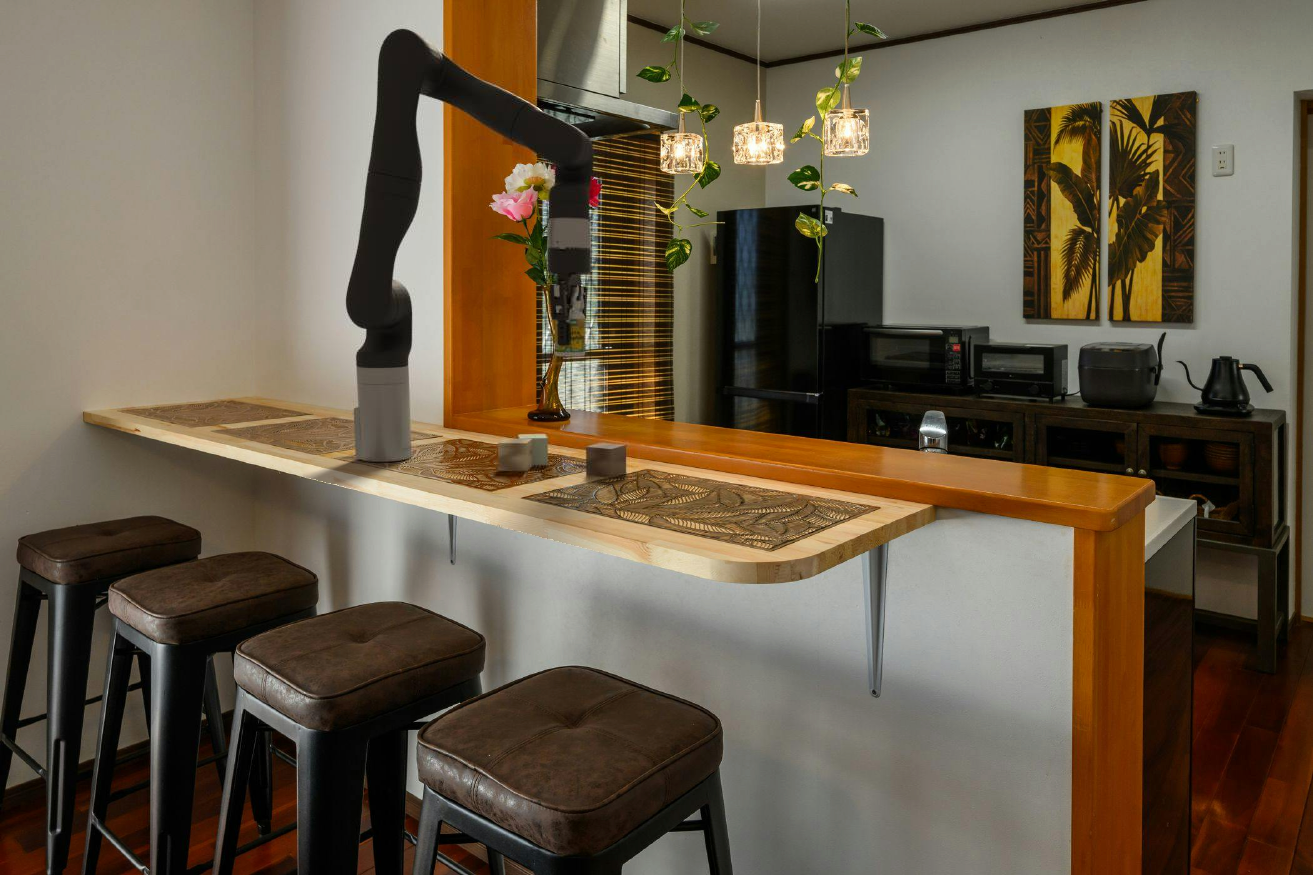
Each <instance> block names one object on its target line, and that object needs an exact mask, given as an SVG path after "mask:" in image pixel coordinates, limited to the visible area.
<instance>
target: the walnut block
mask: <svg viewBox="0 0 1313 875" xmlns="http://www.w3.org/2000/svg"><path fill="white" fill-rule="evenodd" d="M624 474H627V444H620V443H619V444H618V443H608V442H598V443H594V444H591V445H587V446H585V475H586V476H593V477H600V478H610V479H611V478H615V477H618V476H621V475H624Z"/></svg>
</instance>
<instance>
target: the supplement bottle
mask: <svg viewBox="0 0 1313 875" xmlns="http://www.w3.org/2000/svg"><path fill="white" fill-rule="evenodd" d="M567 305H569V304H567ZM580 309H581V301H576V306H575V311H573V312H572V316H571V323H568V324H571V344H570V345H569V346H560V345H558V343H557V324H558V323H556V322H555V320H553V321H554V354H555V356H557V357H584V356H585V355H586V318H585V316H584V314H583V313H581V312H580ZM561 313H562V312H561Z"/></svg>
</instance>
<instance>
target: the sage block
mask: <svg viewBox="0 0 1313 875" xmlns="http://www.w3.org/2000/svg"><path fill="white" fill-rule="evenodd" d="M517 439H532V466H547V465H549V451H548V450H549V449H548V448H549V441H548V436H547V435H546V433H535V434H534V433H530V434H529V433H527V434H526V433H525V434H518V435H517Z"/></svg>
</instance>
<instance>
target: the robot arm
mask: <svg viewBox="0 0 1313 875" xmlns="http://www.w3.org/2000/svg"><path fill="white" fill-rule="evenodd" d="M376 84H377V89H376V90H377V91H376V107H375V108H376V111H375V119H374V126H373V132H372V134H373V135H372V140H371V141H372V142H371V149H370V158H369V163H368V168H367V173H366V174H367V175H366V182H365V189H364V200H363V207H362V213H361V214H362V215H361V221H360V229H359V234H358V236H359V237H358V241H357V243H358V244H357V248H356V252H355V258H354V262H353V266H352V269H351V273H350V277H349V282H348V284H347V289H346V295H345V309H346V312H347V315H348V317H349V319H350V320H351V322H352V323H353V324H354V325H356V327H358V328H360V329H363V330H365V331H366V332H365V340H364V343H363V344H362V345H361V347H360V348H359V349H358V350H357V351H356V354H355V366H356V384H357V385H356V386H357V387H356V388H357V406H356V407H354V408H353V428H354V430H353V431H354V448H355V449H354V452H355V453H354V454H355V460H362V461H365V462H376V463H378V462H379V463H381V462H396V461H397V462H398V461H403V460H409V459H411V458H412V457H413V456H412V432H411V430H412V429H411V427H412V426H411V425H412V424H411V400H410V399H411V398H410V396H411V395H410V375H409V374H410V371H409V358H410V357H409V356H410V353H411V350H412V347H413V305H412V299H411V298H412V297H411V295H410V293H409V291H408V289H407V288H406V287H405V286H404V284H403V283H402V282H400V281H398V280H396V279H393V278H394V269H395V263H396V258H397V253H398V251H399V248H400V246H401V244H402V242H403V240H404V238H405V236H406V235H407V233H408V231H409V228H410V227H411V225H412V223H413V221H414V218H415V216H416V214H417V211H418V207H419V202H420V195H421V191H422V190H421V189H422V182H423V181H422V180H423V160H422V154H421V148H420V143H419V137H418V131H417V114H418V113H417V112H418V105H419V101H420V96H421V95H422V96H425V97H428V98H431V99H434V100H438V101H441V102H444V103H446V104H449V105H450V106H453V107H455V108H456V109H459V110H460V111H462V112H464V113H466V114H467V115H469V116H470V117H472V118H473V119H475V120H477V121H478V122H479V123H481V124H482V125H483V126H485V127H486V128H488V129H489V130H492V131H494V132H495V133H497V134H499V135H501V136H503V137H504V138H506V139H508V140H510V141H512V142H513V143H515V144H517V145H520V146H522V147H524V148H525V147H526V148H527V149H529V150H530V151H532V152H533V153H535V154H536V155H538V156H540V157H541V158H543V159H544V160H545V161H548V162H549V163H551V164H553V165H555V170H554V173H555V174H554V184H553V186H551V187H550V189H549V191H548V222H547V236H546V240H547V242H546V243H547V244H546V245H547V272H548V274H549V275H557V277H556V284H550V285H549V294H550V295H549V297H550V310H551V311H550V314H551V320H553V321H554V320H555V322H556V323H558V324H557V343H558V345H560V346H569V345H570V344H571V324H568V323H571V316H572V312H573V311H575V306H576V301H581V309H580V312H581V313H583V314H584V316H585V319H586V318H587V307H588V291H589V288H588V285H583V283H582V278H581V277H582V276H585V275H587V276H588V275H590V274H591V273H592V236H591V235H592V231H591V230H592V229H591V225H590V224H591V223H590V189H591V185H592V184H591V183H592V178H593V169H594V159H595V158H594V147H593V143H592V141H591V139H590V137H589V136H588V135H587V134H586V133H585V132H584V131H582V130H580V129H579V128H578V127H576V126H574V125H572V124H570V123H568V122H566V121H564V120H562V119H561V118H558V117H556V116H553V115H552V114H549V113H547V112H545V111H543V110H541V109H540V108H539V107H537V106H536V105H534V104H533V103H531V102H529V101H527V100H526V99H523V98H522V97H520V96H518V95H516V94H514V93H512V92H510V91H508V90H506V89H504V88H502V87H500V86H498V85H495V84H493V83H490V82H488V81H485V80H483V79H481V78H478V77H477V76H475V75H474V74H472V73H470V72H468V71H467V70H465V69H464V68H462V67H461V66H460V65H458V64H457V63H456V62H454V61H453V60H452V59H451V58H449V57H448V56H447V55H446V54H445V53H443V52H442V51H441V50H440V49H439V48H438V47H437V46H436V45H435V44H434V43H432V41H430V40H428V39H426V38H425V37H423V36H422V35H421V34H419V33H417V32H415V31H413V30H410V29H407V28H398V29H394V30H393V31H391V32H390V33H388V35H386V36H385V38H384V40H383V42H382V44H381V47H380V50H379V53H378V62H377V83H376ZM567 304H569V305H567ZM561 312H562V313H561Z"/></svg>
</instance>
